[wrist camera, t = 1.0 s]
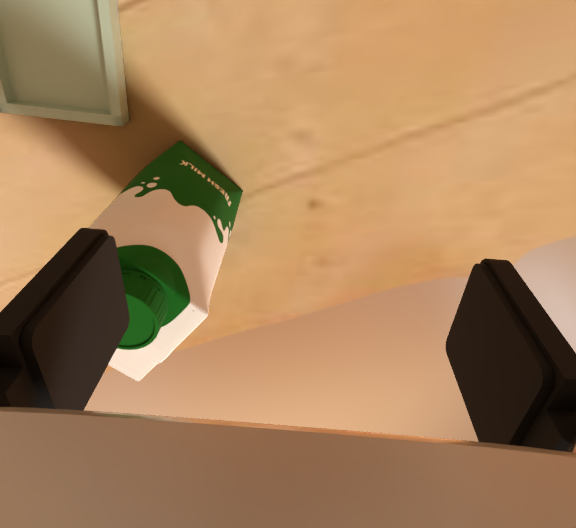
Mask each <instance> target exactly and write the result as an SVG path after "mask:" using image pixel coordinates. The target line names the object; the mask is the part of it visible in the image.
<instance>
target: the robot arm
mask: <svg viewBox="0 0 576 528" xmlns="http://www.w3.org/2000/svg"><path fill="white" fill-rule="evenodd" d="M129 320H130V316H129V310H128V304H127V299H126V294H125V289H124V283H123V278H122V273H121V268H120V262H119V257H118V252H117V246H116V241H115V238H114V237H113V236H110V235H109V234H108V232H107V231H106V230H104V229H91V228H81V229H80V230H78V231H77V233H76V234H75V235H74V236H73V237H72V238H71V239H70V240H69V241H68V242H67V243H66V244H65V245H64V246H63V247H62V248H61V249H60V250H59V251H58V252H57V253H56V255H55V256H54V257H53V258H52V259H51V260H50V261H49V262H48V263H47V264H46V265H45V266H44V267H43V268H42V269H41V270H40V271H39V272H38V273H37V274H36V275H35V277H34V278H33V279H32V280H31V281H30V282H29V283H28V284H27V285H26V286H25V287H24V288H23V289H22V290H21V291H20V292H19V293H18V294H17V295H16V296H15V298H14V299H13V300H12V301H11V302H10V303H9V304H8V305H7V306H6V307H5V308H4V309H3V310H2V311H1V312H0V528H576V353H575V352H574V350H573V349H572V348H571V346H570V345H569V344H568V342H567V341H566V339H565V338H564V337H563V335H562V334H561V332H560V331H559V329H558V328H557V327H556V325H555V324H554V323H553V321H552V320H551V318H550V317H549V316H548V314H547V313H546V311H545V310H544V309H543V307H542V306H541V304H540V303H539V302H538V300H537V299H536V297H535V296H534V295H533V293H532V292H531V291H530V289H529V288H528V286H527V285H526V283H525V282H524V281H523V280H522V278H521V277H520V275H519V274H518V272H517V271H516V270H515V268H514V267H513V265H512V264H511V263H510V262H509V261H507V260H496V259H484V260H482V261H481V263H480V264H475V265H474V266H473V269H472V271H471V274H470V277H469V279H468V282H467V285H466V288H465V290H464V293H463V296H462V299H461V301H460V304H459V307H458V310H457V313H456V315H455V318H454V321H453V324H452V326H451V329H450V332H449V335H448V337H447V341H446V352H447V356H448V358H449V361H450V364H451V367H452V369H453V372H454V375H455V378H456V380H457V383H458V386H459V389H460V391H461V394H462V397H463V399H464V402H465V405H466V408H467V410H468V413H469V416H470V419H471V421H472V424H473V427H474V429H475V432H476V435H477V438H478V441H479V442H474V441H465V440H454V439H441V438H430V437H419V436H407V435H395V434H383V433H371V432H360V431H348V430H335V429H323V428H310V427H297V426H286V425H273V424H260V423H247V422H234V421H222V420H209V419H195V418H181V417H168V416H155V415H141V414H128V413H113V412H99V411H83V410H84V408H85V406H86V405H87V403H88V401H89V399H90V397H91V395H92V393H93V392H94V390H95V388H96V386H97V384H98V382H99V380H100V379H101V377H102V375H103V373H104V371H105V369H106V367H107V366H108V364H109V362H110V360H111V358H112V356H113V354H114V353H115V351H116V349H117V347H118V345H119V343H120V341H121V340H122V338H123V336H124V334H125V332H126V330H127V328H128V325H129Z"/></svg>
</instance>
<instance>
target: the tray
mask: <svg viewBox="0 0 576 528" xmlns="http://www.w3.org/2000/svg"><path fill="white" fill-rule="evenodd" d="M0 112H1V113H9V114H18V115H27V116H35V117H44V118H52V119H61V120H70V121H78V122H87V123H95V124H104V125H113V126H121V127H122V126H124V125H125V124H127V123H128V122H129V113H128V103H127V93H126V83H125V73H124V63H123V53H122V43H121V33H120V23H119V13H118V3H117V0H0Z"/></svg>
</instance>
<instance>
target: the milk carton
mask: <svg viewBox="0 0 576 528" xmlns="http://www.w3.org/2000/svg"><path fill="white" fill-rule="evenodd" d="M242 192H243V190H241V189H240V188H239V187H238V186H236V185H235V184H234V183H233V182H231V181H230V180H229V179H228V178H226V177H225V176H224V175H223V174H222V173H220V172H219V171H218V170H217V169H215V168H214V167H213V166H212V165H210V164H209V163H208V162H207V161H205V160H204V159H203V158H202V157H201V156H199V155H198V154H197V153H196V152H194V151H193V150H192V149H191V148H189V147H188V146H187V145H186V144H184V143H183V142H182V141H181V140H180V141H179V142H177V143H176V144H175V145H173V146H172V147H171V148H169V149H168V150H167V151H165V152H164V153H163V154H161V155H160V156H159V157H157V158H156V159H155V160H153V161H152V162H151V163H150V164H148V165H147V166H146V167H145V168H144V169H143V170H142V171H141V172H140V173H139V174H138V175H137V176H136V177H135V178H134V179H133V180H132V181H131V182H130V183H129V184H128V185H127V187H126V188H125V189H124V190H123V191H122V192H121V193H120V194H119V195H118V196H117V197H116V198H115V199H114V201H113V202H112V203H111V204H110V205H109V206H108V207H107V208H106V209H105V210H104V211H103V212H102V213H101V215H100V216H99V217H98V218H97V219H96V220H95V221H94V222H93V224H92V225H91V226H90V227H89V228H91V229H104V230H106V231H107V232H108V234H109V235H110V236H113V237H114V238H115V241H116V246H117V252H118V257H119V262H120V268H121V273H122V278H123V283H124V289H125V294H126V299H127V304H128V310H129V316H130V320H129V325H128V328H127V330H126V332H125V334H124V336H123V338H122V340H121V341H120V343H119V345H118V347H117V349H116V351H115V353H114V354H113V356H112V358H111V360H110V362H109V364H108V365H109V366H111V367H113V368H115V369H116V370H118V371H120V372H122V373H123V374H125V375H127V376H129V377H131V378H133V379H134V380H136V381H140V380H141V379H142V378H143V377H144V376H145V375H146V374H147V373H148V372H149V371H150V370H151V369H152V368H153V367H154V366H155V365H156V364H157V363H161V362H162V361H163V360H165V358H167V357H168V356H169V355H170V353H171V352H172V351H173V350H174V349H175V348H176V347H177V346H178V345H179V344H180V343H181V342H182V341H183V340H184V339H185V338H186V337H187V336H188V335H189V334H190V333H191V332H192V331H193V330H194V329H195V328H196V327H197V326H198V325H199V324H200V323H201V322H202V321H203V320H204V319H205V318H206V317H207V315H208V311H209V303H210V297H211V293H212V289H213V286H214V283H215V280H216V277H217V274H218V271H219V268H220V265H221V262H222V259H223V256H224V253H225V250H226V247H227V243H228V240H229V237H230V234H231V231H232V228H233V225H234V221H235V217H236V214H237V210H238V206H239V202H240V199H241V195H242Z"/></svg>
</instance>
